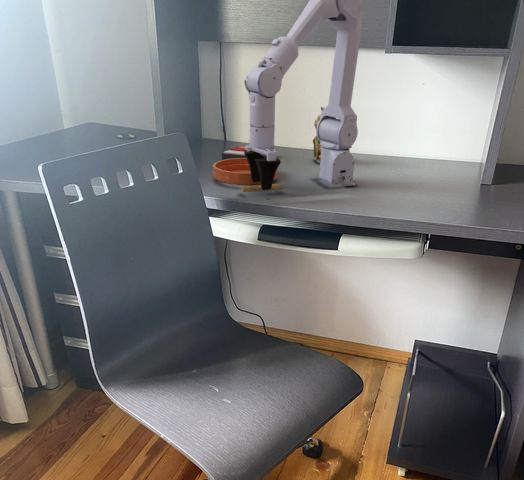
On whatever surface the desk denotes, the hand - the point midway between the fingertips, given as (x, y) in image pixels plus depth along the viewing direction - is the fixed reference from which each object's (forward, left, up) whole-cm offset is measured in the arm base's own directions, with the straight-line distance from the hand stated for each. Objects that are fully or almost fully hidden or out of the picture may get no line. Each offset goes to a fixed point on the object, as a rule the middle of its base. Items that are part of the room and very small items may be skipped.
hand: (261, 185), depth 130 cm
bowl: (+13, 0, -2) cm, 13 cm away
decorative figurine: (+28, -30, +6) cm, 41 cm away
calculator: (+32, -7, -2) cm, 33 cm away
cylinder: (0, 0, -2) cm, 2 cm away
